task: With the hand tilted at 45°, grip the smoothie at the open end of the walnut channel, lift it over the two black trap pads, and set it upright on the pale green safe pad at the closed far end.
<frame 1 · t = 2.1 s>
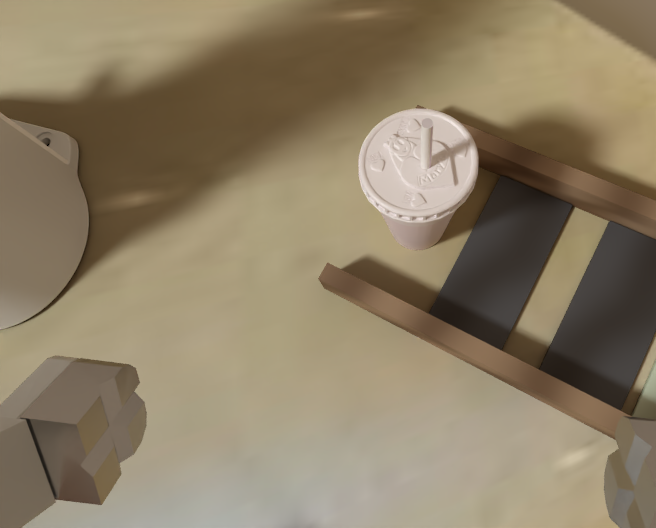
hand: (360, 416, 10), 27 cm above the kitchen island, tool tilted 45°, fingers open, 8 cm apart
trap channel: (565, 293, 37), on the kitchen island
smoothie: (417, 225, 40), on the kitchen island
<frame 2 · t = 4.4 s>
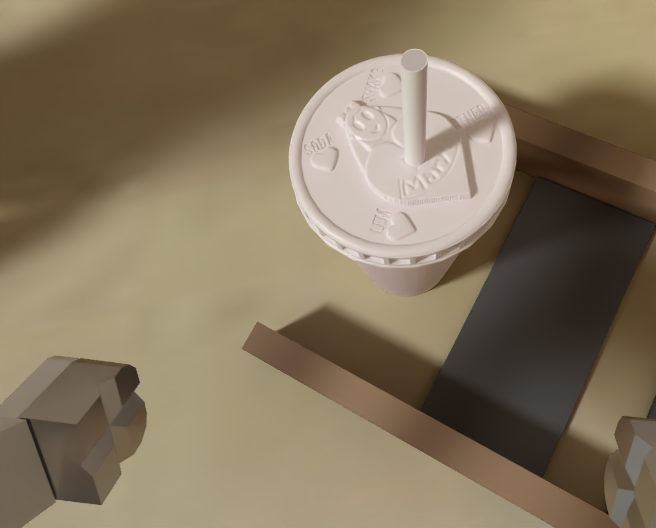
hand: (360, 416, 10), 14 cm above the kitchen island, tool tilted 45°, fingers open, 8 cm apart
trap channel: (650, 370, 22), on the kitchen island
smoothie: (405, 256, 25), on the kitchen island
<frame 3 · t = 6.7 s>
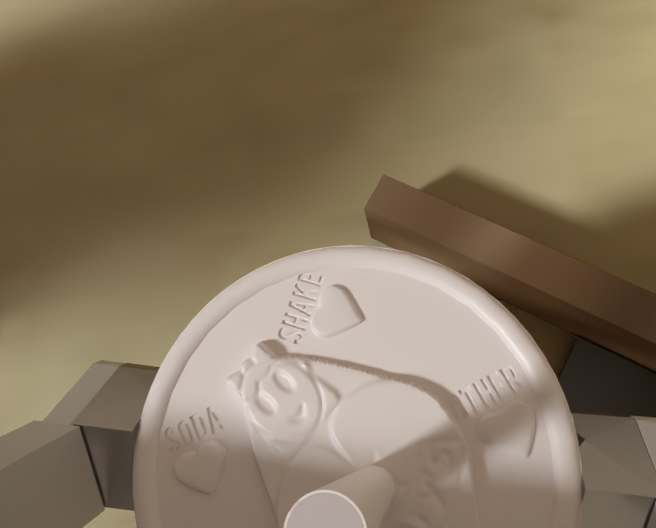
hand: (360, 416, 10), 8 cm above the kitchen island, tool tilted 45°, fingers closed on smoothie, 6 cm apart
smoothie: (384, 449, 17), on the kitchen island, touching gripper
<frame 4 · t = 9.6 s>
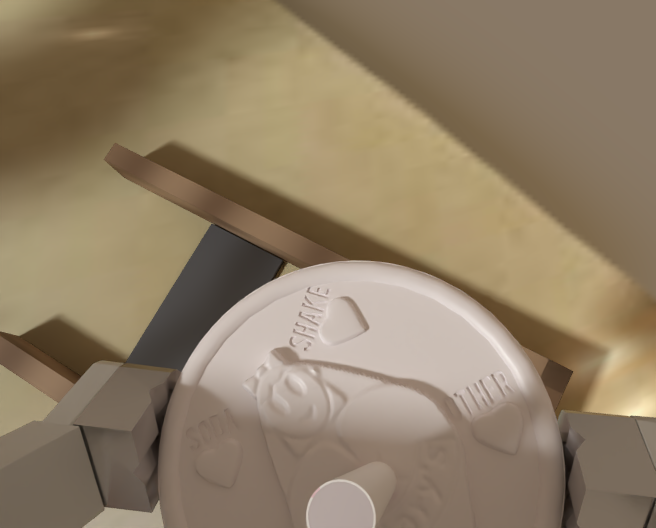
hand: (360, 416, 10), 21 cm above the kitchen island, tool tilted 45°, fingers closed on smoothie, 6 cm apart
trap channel: (263, 364, 32), on the kitchen island
smoothie: (385, 447, 18), point 12 cm above the kitchen island, touching gripper
when the fingers open (9 cm above the kitchen island, at t = 12.4 s): smoothie stays where it is, resting on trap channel.
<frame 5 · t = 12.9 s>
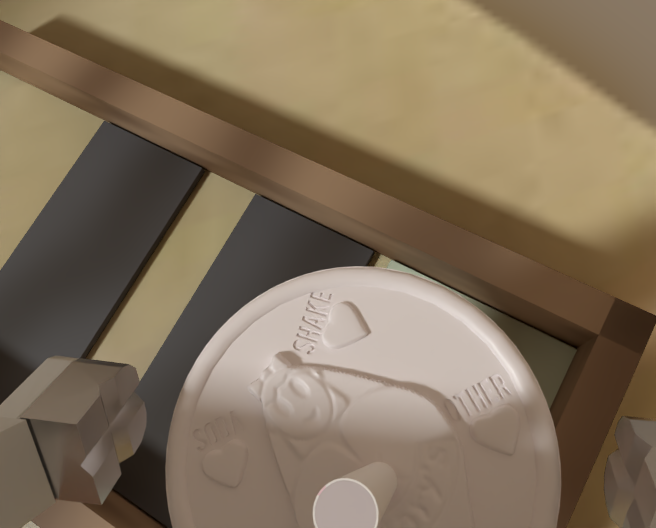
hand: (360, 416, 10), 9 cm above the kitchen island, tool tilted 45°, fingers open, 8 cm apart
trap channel: (167, 319, 21), on the kitchen island
smoothie: (386, 448, 18), resting on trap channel
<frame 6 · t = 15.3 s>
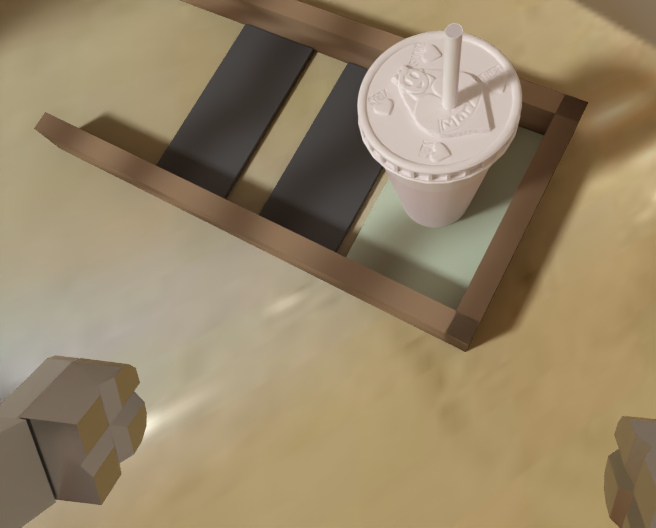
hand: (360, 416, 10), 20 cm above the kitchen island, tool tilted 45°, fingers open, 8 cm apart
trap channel: (297, 138, 34), on the kitchen island
smoothie: (435, 197, 32), resting on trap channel
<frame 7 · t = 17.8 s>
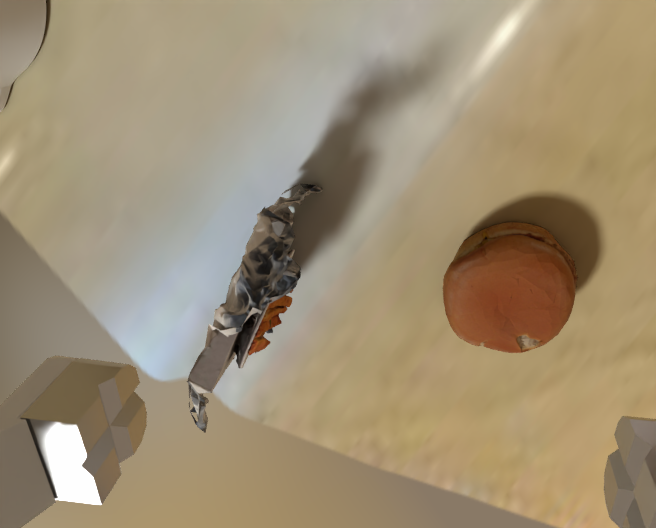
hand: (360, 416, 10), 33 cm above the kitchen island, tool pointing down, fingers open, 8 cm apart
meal: (283, 258, 48), on the kitchen island
burger: (506, 276, 45), on the kitchen island
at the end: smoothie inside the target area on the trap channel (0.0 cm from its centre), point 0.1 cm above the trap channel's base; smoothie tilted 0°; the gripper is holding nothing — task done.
